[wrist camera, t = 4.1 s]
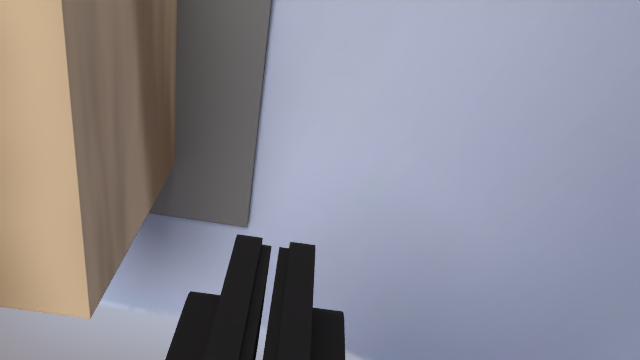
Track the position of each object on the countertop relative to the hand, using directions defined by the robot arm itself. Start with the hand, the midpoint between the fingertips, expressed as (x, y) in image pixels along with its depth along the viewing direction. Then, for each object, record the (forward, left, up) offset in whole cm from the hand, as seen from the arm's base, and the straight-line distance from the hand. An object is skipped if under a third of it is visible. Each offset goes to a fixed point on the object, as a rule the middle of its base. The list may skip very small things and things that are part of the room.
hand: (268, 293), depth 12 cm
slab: (+8, -1, -14) cm, 16 cm away
